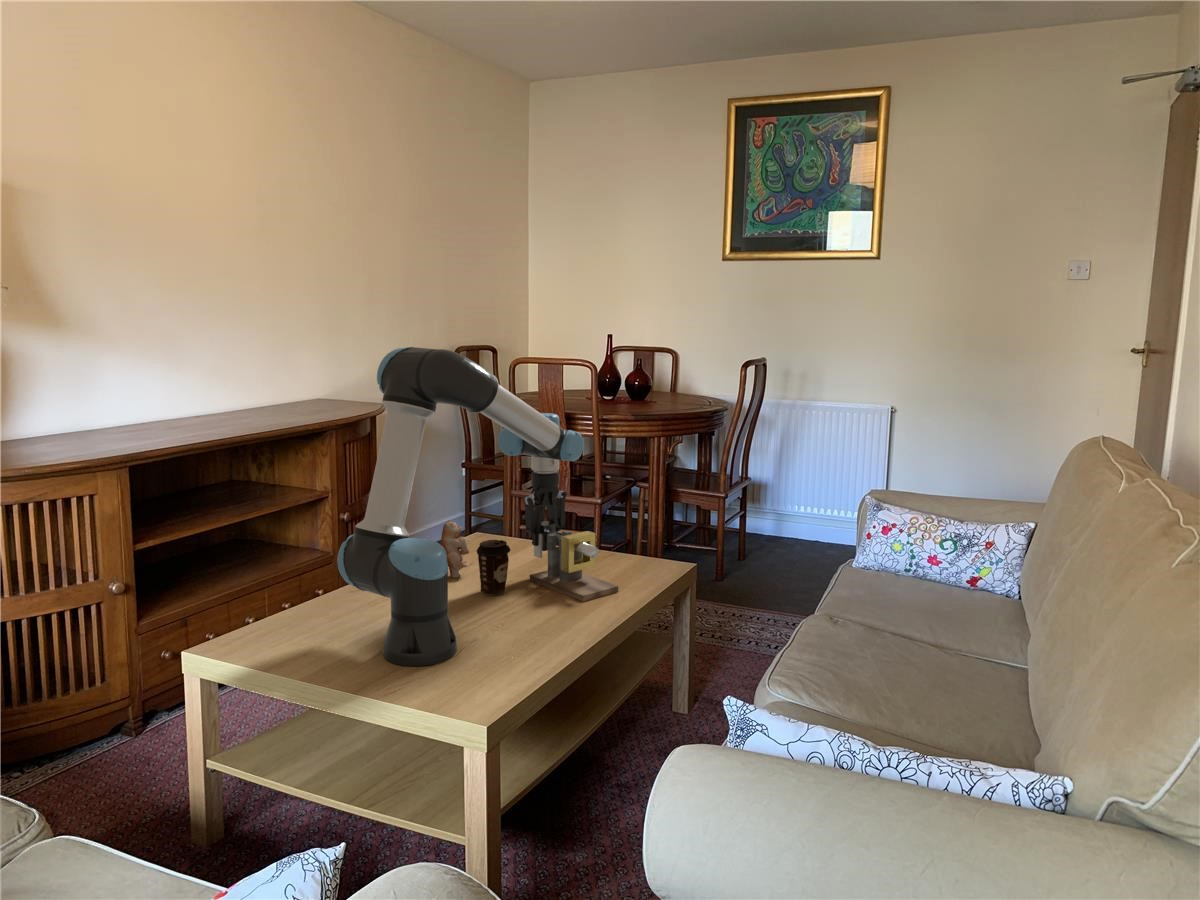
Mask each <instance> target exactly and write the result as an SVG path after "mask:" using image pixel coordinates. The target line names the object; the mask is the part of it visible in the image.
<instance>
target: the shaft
mask: <svg viewBox="0 0 1200 900" xmlns="http://www.w3.org/2000/svg"><path fill="white" fill-rule="evenodd" d="M555 525H556V524H555V523H552V522H549V520H544V521H543V520H542V523H541V529H540V534H542V552H545V551H546V552H548V549H547V534H554V535H556V547H559V538H562V534H559V533H558V534H556V533H555ZM574 552H577V553H580V554H582V556H583V555H585V556H588V557H591V558H594V557H595V558H596V557H597V556H598V554H599V548H598V547H597V546H596V545H595V546H593V545H590V544H587V543H578V544H574Z"/></svg>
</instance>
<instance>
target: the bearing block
mask: <svg viewBox="0 0 1200 900" xmlns="http://www.w3.org/2000/svg"><path fill="white" fill-rule="evenodd" d="M571 534H572V531H570V530H563V531H561V535H562V536H566V535H571ZM547 549H548V550H547V570H543V571H539V572H536V573H532V574H529V581H531V582H533V583H536V584H538V585H541V586H544V587H546V588H548V589H550V590H554V591H555V592H559V593H560V594H563V595H566V596H568V597H571V598H573V599H576V600H578V601H580V602H583V603H584V602H586V601H590V600H594V599H597V598H601V597H604V596H607V595H612V594H615V593H618V592H619V586H618V585H616V584H614V583H610V582H608V581H605V580H603V579H601V578H597V577H594V576H592V575H589V574H586V573H583V570H579V571H575V572H571V573H567V572H565V571H562V570H561V538H559V546H556V535H554V534H547ZM582 558H583V554H580V553H577V552H574V561H575V560H579V559H582Z"/></svg>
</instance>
